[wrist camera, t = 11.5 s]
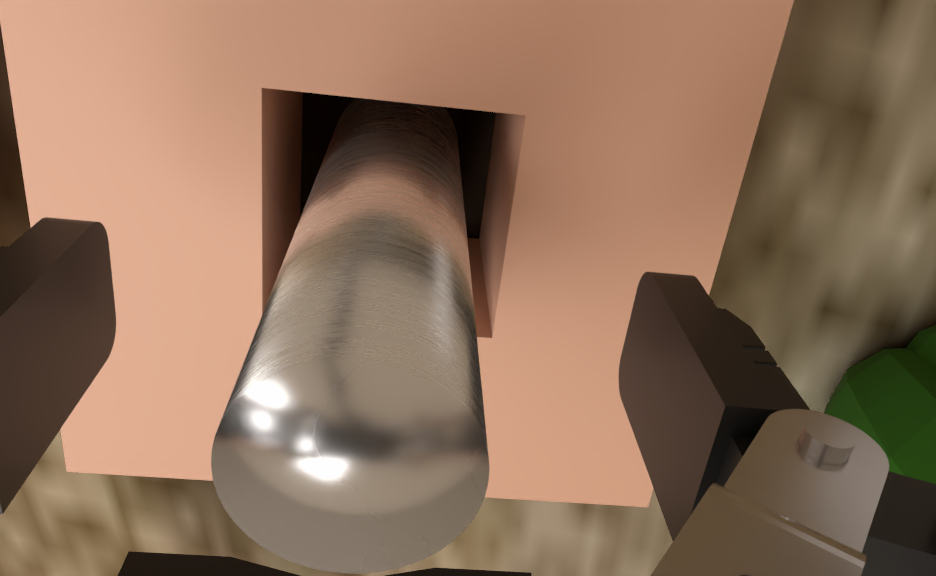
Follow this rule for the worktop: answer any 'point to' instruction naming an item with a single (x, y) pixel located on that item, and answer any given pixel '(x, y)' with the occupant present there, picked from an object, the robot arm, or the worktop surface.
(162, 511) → the worktop surface
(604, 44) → the dock block
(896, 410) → the bell pepper
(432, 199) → the lock pin
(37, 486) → the worktop surface
